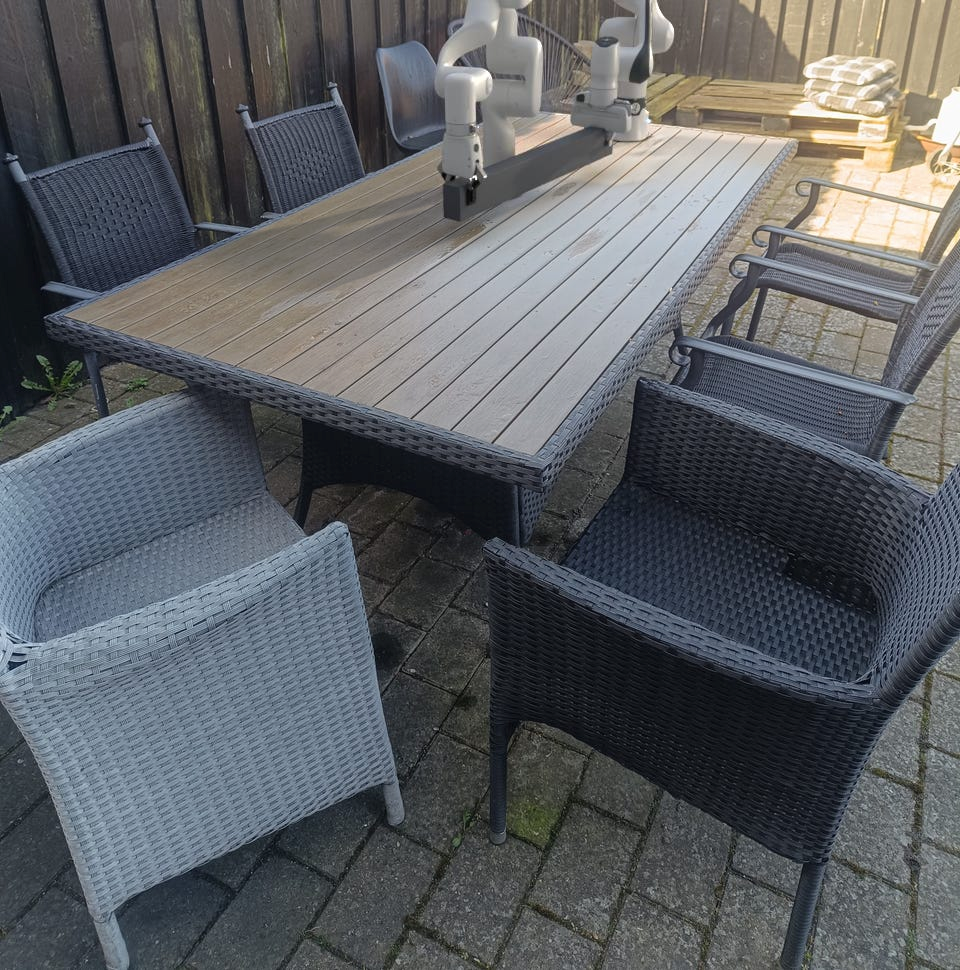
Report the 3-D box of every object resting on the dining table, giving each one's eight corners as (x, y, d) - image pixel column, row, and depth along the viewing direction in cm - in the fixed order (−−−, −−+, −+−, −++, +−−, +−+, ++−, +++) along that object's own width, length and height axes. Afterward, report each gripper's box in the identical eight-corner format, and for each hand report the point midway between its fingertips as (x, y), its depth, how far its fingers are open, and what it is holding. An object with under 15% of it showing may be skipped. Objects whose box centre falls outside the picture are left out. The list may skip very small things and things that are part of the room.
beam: (460, 221, 218) (459, 187, 212) (443, 217, 220) (442, 183, 215) (612, 153, 271) (614, 125, 266) (597, 151, 273) (599, 122, 268)
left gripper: (497, 130, 207) (497, 204, 218) (442, 120, 215) (444, 192, 226) (479, 137, 202) (480, 212, 213) (424, 126, 211) (427, 199, 221)
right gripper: (637, 99, 256) (632, 146, 264) (579, 91, 266) (576, 137, 274) (627, 103, 252) (623, 151, 260) (569, 94, 262) (566, 141, 270)
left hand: (461, 201), depth 220 cm, fingers closed on beam, 5 cm apart
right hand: (598, 144), depth 267 cm, fingers closed on beam, 5 cm apart
